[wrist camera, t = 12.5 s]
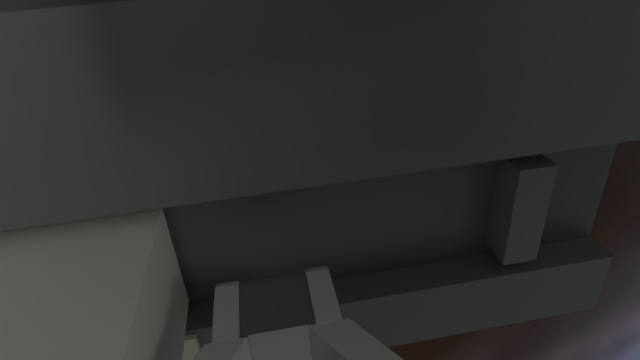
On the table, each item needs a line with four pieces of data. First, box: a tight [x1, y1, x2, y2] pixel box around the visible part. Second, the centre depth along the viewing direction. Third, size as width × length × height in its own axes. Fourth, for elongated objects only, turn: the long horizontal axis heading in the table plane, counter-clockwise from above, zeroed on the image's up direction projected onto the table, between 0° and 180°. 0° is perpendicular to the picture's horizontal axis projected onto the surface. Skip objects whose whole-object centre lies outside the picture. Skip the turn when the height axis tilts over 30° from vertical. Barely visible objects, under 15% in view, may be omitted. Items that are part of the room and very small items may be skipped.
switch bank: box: [0, 0, 640, 360], centre depth 10 cm, size 20×16×3 cm
